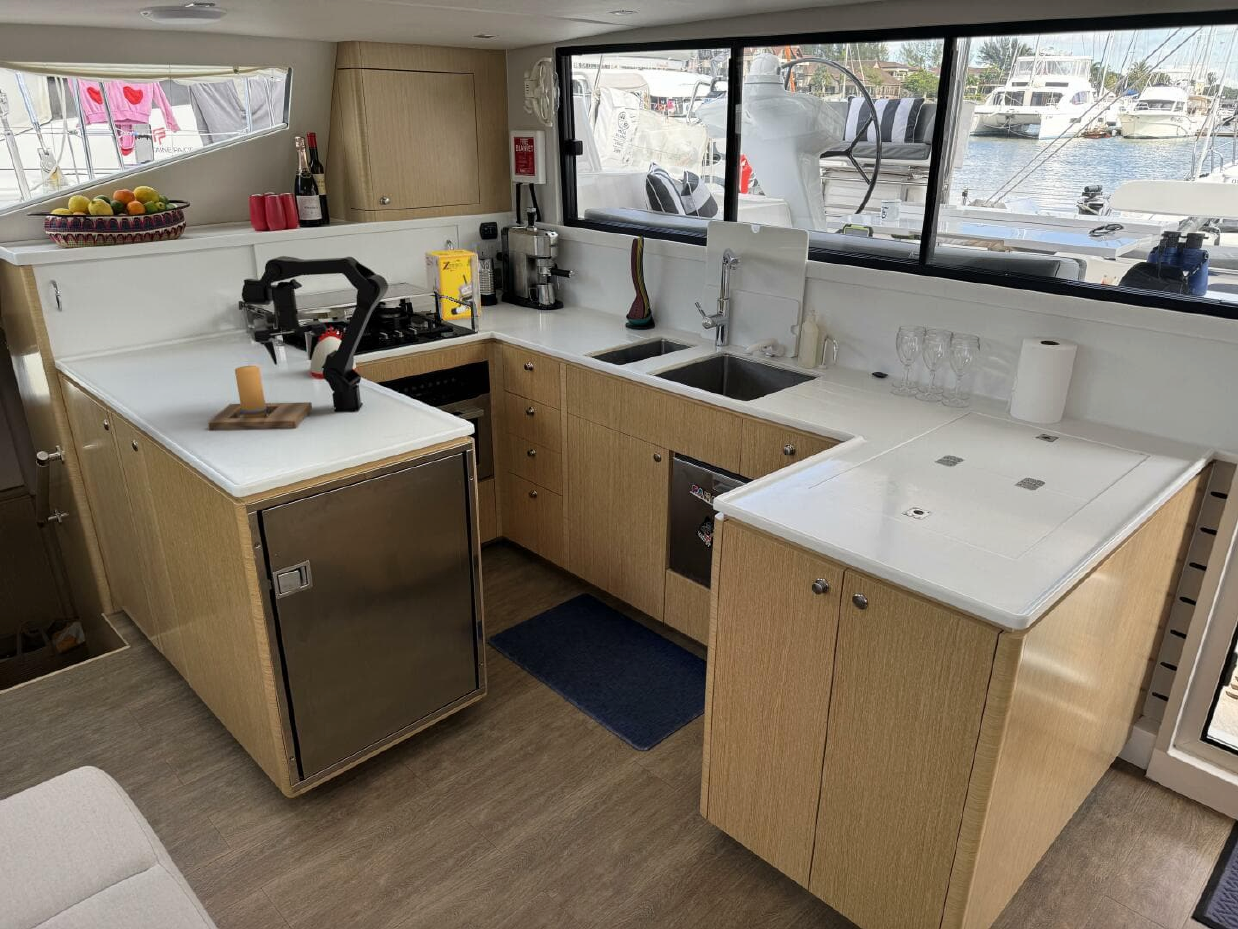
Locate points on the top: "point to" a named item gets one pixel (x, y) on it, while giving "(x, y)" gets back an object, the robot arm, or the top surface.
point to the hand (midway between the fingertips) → (293, 361)
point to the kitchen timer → (325, 352)
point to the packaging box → (454, 281)
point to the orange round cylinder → (251, 392)
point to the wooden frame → (279, 418)
